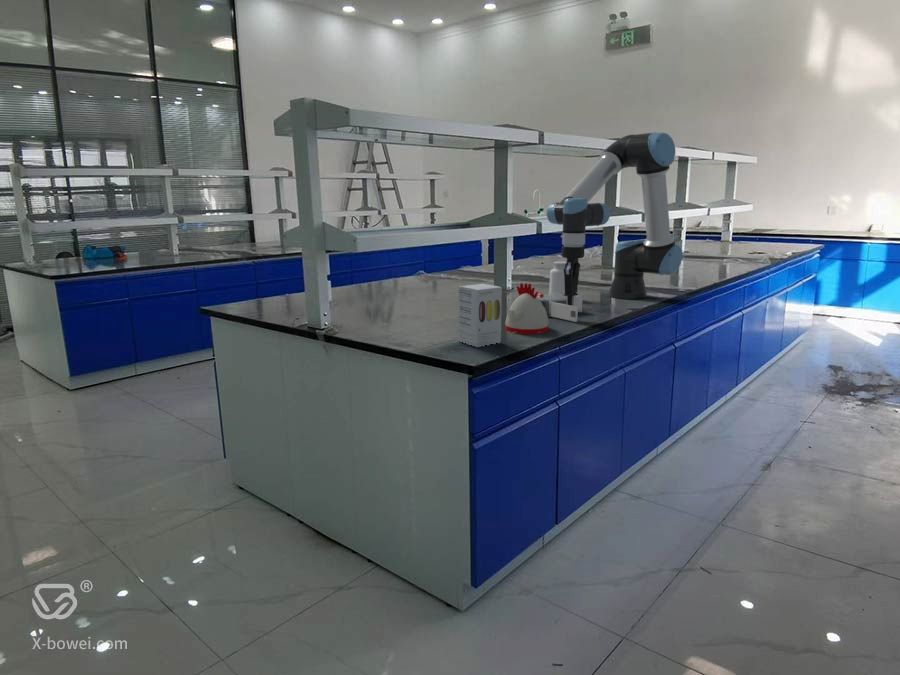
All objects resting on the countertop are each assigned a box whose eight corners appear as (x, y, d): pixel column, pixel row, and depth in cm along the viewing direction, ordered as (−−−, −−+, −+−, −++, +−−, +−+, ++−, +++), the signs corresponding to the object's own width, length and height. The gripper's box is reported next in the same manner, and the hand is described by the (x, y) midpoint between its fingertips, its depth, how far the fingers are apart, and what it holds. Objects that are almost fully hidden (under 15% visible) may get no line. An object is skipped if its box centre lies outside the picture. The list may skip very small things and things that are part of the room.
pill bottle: (568, 300, 243) (570, 263, 240) (548, 300, 245) (549, 263, 241) (569, 297, 251) (570, 261, 247) (549, 296, 252) (550, 260, 249)
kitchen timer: (524, 322, 205) (525, 278, 201) (557, 329, 195) (558, 283, 192) (496, 329, 196) (496, 283, 192) (529, 336, 186) (530, 288, 182)
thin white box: (577, 321, 204) (578, 306, 203) (574, 322, 203) (575, 306, 202) (550, 316, 214) (551, 300, 213) (547, 316, 213) (547, 301, 212)
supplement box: (476, 348, 173) (476, 289, 169) (457, 341, 180) (457, 285, 176) (502, 343, 179) (502, 286, 174) (482, 337, 186) (482, 282, 182)
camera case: (564, 307, 229) (565, 290, 228) (582, 312, 221) (582, 294, 219) (523, 312, 221) (524, 294, 219) (540, 317, 212) (541, 298, 211)
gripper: (567, 243, 210) (564, 309, 216) (556, 247, 198) (554, 317, 204) (588, 244, 206) (585, 311, 212) (579, 248, 195) (576, 319, 201)
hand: (570, 314), depth 208 cm, fingers closed
